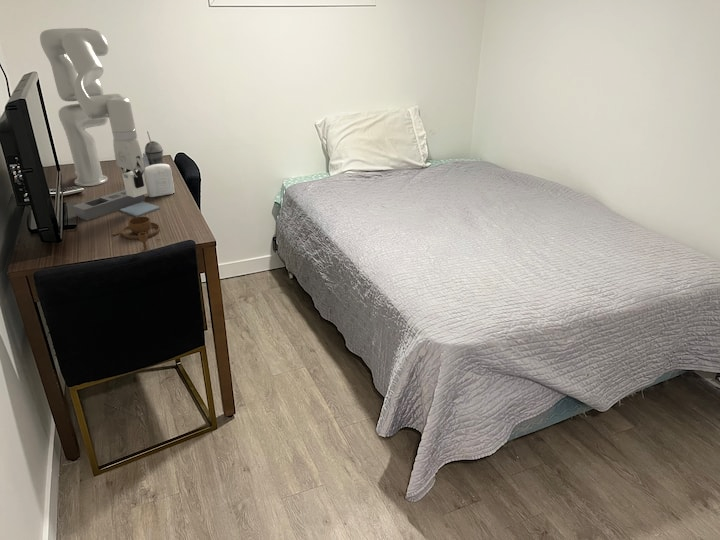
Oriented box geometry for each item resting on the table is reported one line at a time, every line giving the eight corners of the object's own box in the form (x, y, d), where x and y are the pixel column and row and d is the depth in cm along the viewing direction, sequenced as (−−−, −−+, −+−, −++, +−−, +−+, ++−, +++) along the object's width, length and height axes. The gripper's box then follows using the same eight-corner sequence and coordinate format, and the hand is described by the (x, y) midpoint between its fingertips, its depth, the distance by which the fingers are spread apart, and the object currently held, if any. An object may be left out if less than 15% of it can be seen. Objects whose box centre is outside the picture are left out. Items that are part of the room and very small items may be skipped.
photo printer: (173, 190, 209) (168, 160, 204) (176, 193, 206) (171, 163, 200) (147, 195, 204) (141, 165, 198) (149, 198, 201) (143, 167, 195)
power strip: (75, 216, 185) (72, 204, 183) (134, 197, 203) (131, 186, 200) (86, 220, 182) (83, 208, 179) (145, 200, 199) (143, 189, 197)
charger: (126, 195, 187) (121, 173, 183) (140, 190, 191) (135, 169, 187) (133, 197, 184) (128, 176, 181) (147, 193, 189) (143, 171, 185)
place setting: (174, 227, 178) (171, 211, 176) (150, 253, 161) (146, 235, 158) (125, 225, 179) (121, 209, 177) (95, 250, 162) (91, 233, 159)
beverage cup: (170, 177, 224) (162, 131, 215) (154, 181, 219) (146, 134, 210) (162, 173, 229) (154, 128, 219) (146, 177, 224) (137, 131, 214)
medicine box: (155, 172, 230) (152, 153, 226) (146, 172, 230) (142, 153, 226) (162, 167, 237) (158, 148, 233) (152, 166, 237) (149, 148, 233)
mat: (120, 211, 190) (119, 209, 189) (143, 203, 197) (143, 201, 197) (136, 217, 185) (136, 215, 185) (160, 208, 192) (160, 207, 192)
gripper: (100, 133, 179) (112, 184, 188) (130, 140, 171) (141, 193, 179) (119, 129, 185) (130, 179, 193) (149, 136, 176) (159, 187, 185)
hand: (135, 185), depth 186 cm, fingers closed on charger, 4 cm apart
